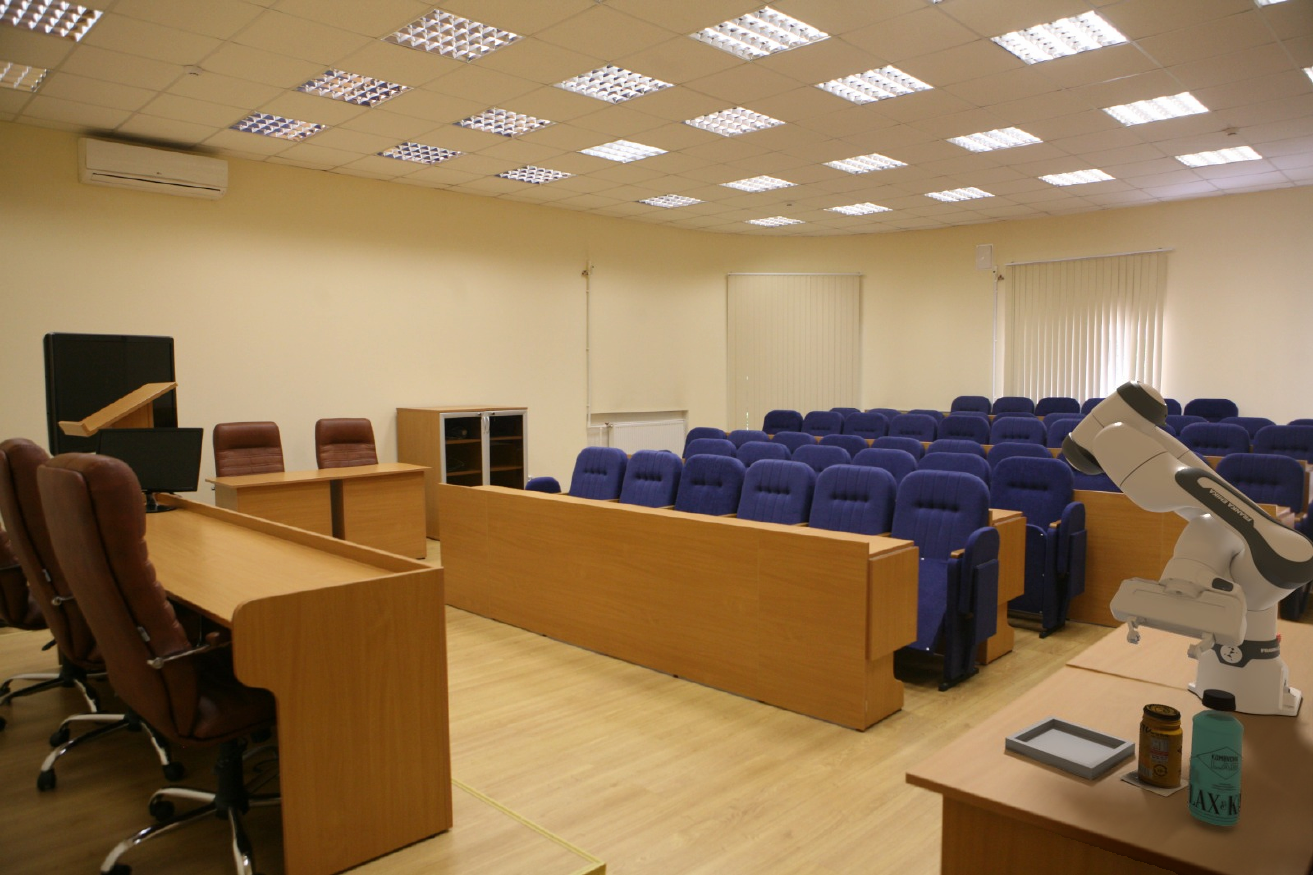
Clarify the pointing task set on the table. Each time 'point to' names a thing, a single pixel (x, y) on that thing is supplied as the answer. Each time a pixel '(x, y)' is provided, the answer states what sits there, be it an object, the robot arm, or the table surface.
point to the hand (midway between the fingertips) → (1161, 648)
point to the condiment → (1159, 751)
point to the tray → (1070, 747)
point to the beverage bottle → (1216, 761)
